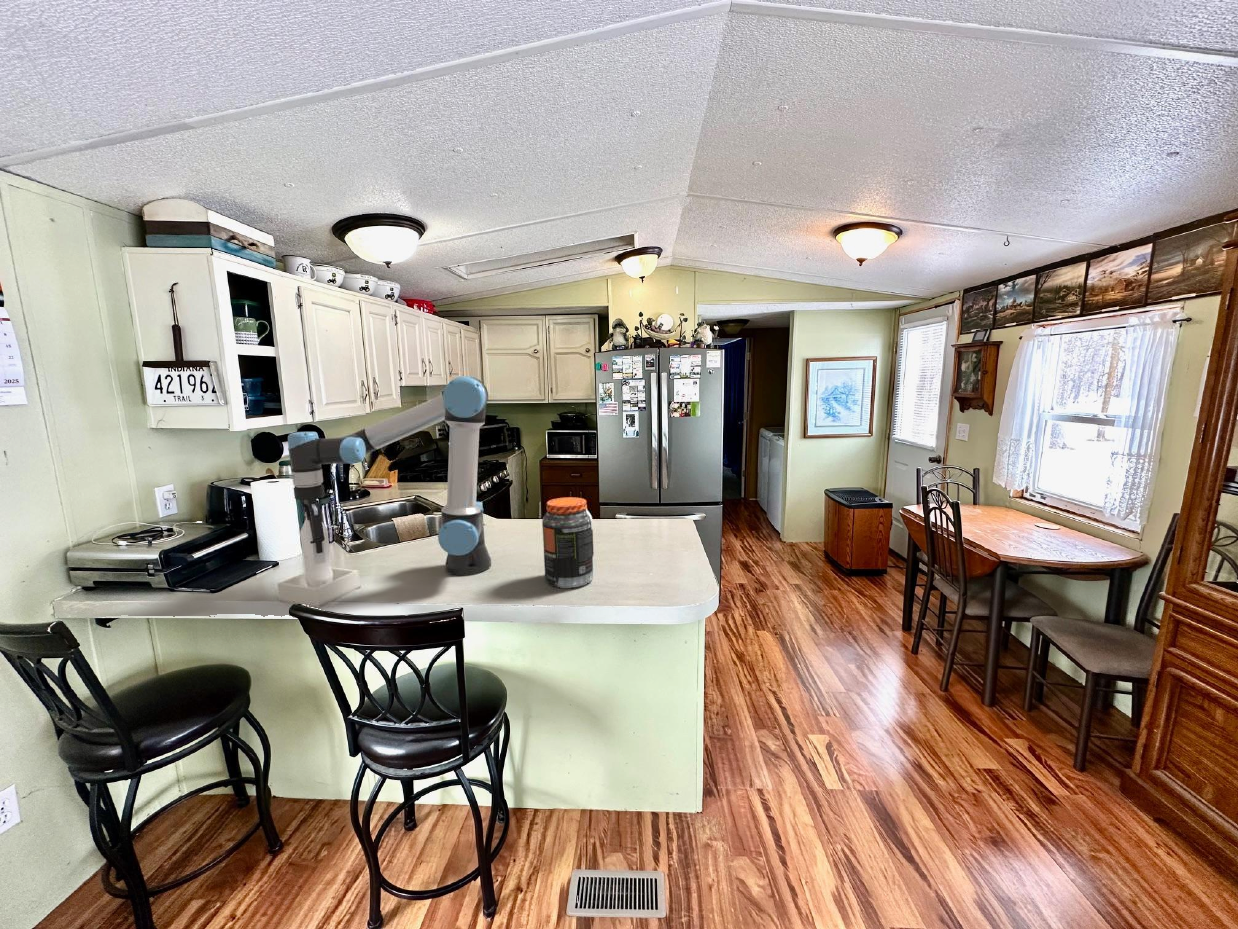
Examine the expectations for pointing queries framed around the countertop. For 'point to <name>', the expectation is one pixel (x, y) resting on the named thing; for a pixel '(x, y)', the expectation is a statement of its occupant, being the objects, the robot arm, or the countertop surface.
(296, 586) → the bin
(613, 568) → the countertop surface
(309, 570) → the water bottle
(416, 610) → the countertop surface
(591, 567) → the supplement tub
